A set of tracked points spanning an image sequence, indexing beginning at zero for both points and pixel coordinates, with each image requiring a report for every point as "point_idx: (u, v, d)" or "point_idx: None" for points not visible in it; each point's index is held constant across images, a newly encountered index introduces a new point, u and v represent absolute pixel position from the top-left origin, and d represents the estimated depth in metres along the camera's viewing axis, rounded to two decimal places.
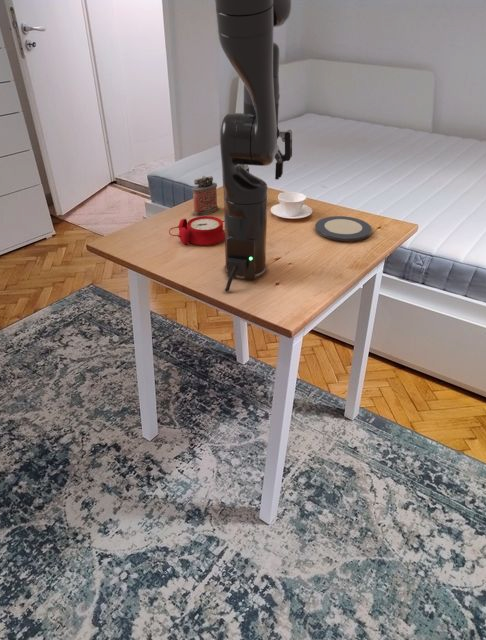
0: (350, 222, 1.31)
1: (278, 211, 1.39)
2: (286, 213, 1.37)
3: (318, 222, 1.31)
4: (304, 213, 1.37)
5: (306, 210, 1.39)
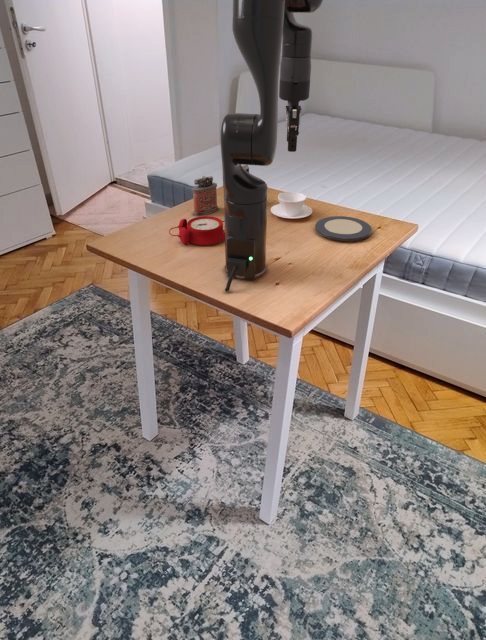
0: (350, 222, 1.31)
1: (278, 211, 1.39)
2: (286, 213, 1.37)
3: (318, 222, 1.31)
4: (304, 213, 1.37)
5: (306, 210, 1.39)
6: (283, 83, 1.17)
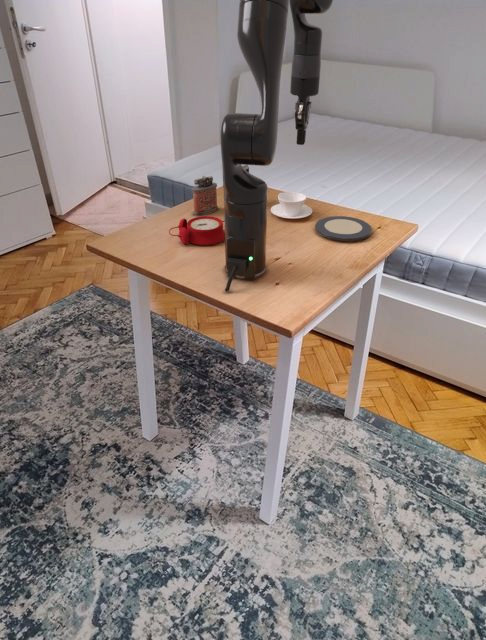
0: (350, 222, 1.31)
1: (278, 211, 1.39)
2: (286, 213, 1.37)
3: (318, 222, 1.31)
4: (304, 213, 1.37)
5: (306, 210, 1.39)
6: (293, 79, 1.25)
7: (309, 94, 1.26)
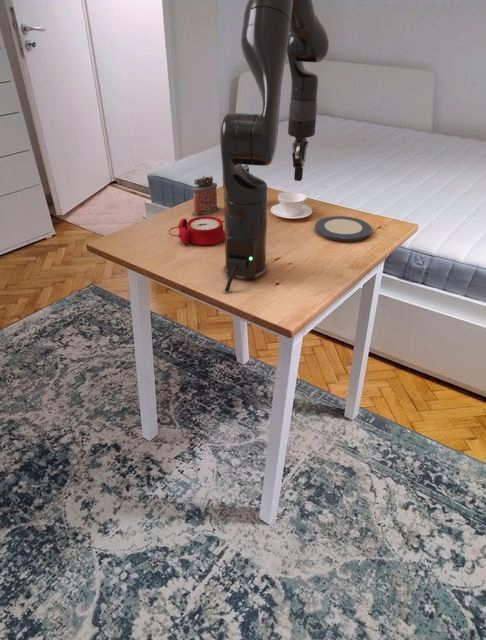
0: (350, 222, 1.31)
1: (278, 211, 1.39)
2: (286, 213, 1.37)
3: (318, 222, 1.31)
4: (304, 213, 1.37)
5: (306, 210, 1.39)
6: (290, 121, 1.31)
7: (306, 136, 1.32)
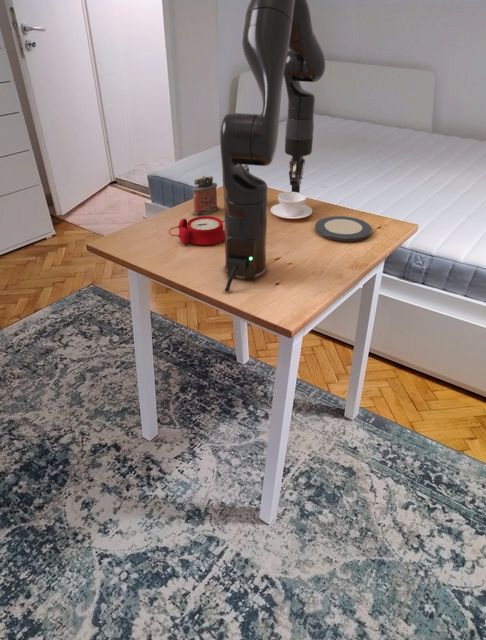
0: (350, 222, 1.31)
1: (278, 211, 1.39)
2: (286, 213, 1.37)
3: (318, 222, 1.31)
4: (304, 213, 1.37)
5: (306, 210, 1.39)
6: (287, 140, 1.31)
7: (303, 154, 1.31)
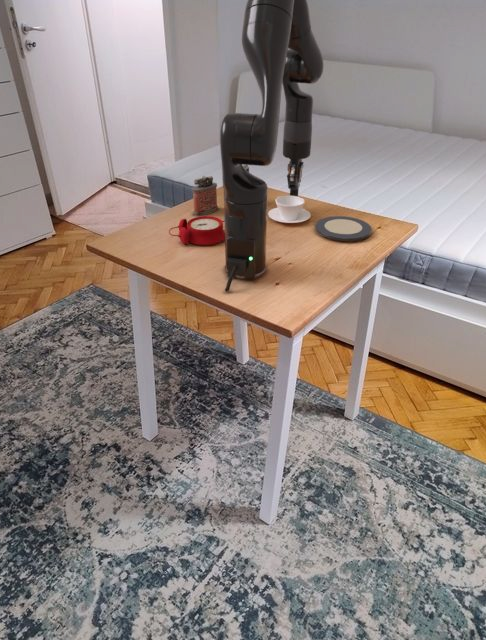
0: (350, 222, 1.31)
1: (276, 215, 1.36)
2: (284, 217, 1.34)
3: (318, 222, 1.31)
4: (302, 217, 1.35)
5: (304, 214, 1.36)
6: (285, 143, 1.28)
7: (301, 157, 1.28)
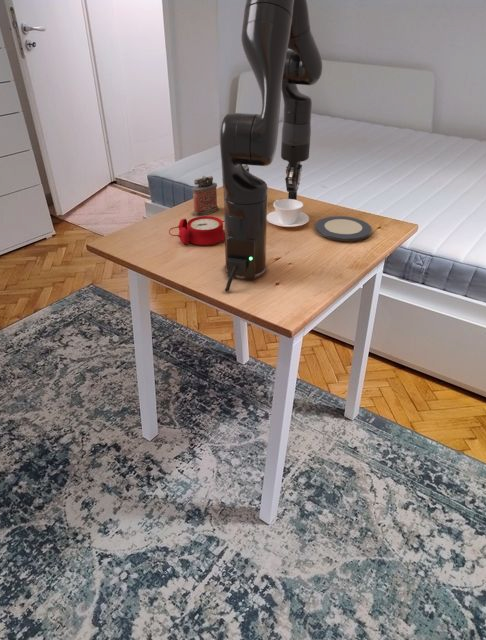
0: (350, 222, 1.31)
1: (274, 218, 1.34)
2: (282, 221, 1.32)
3: (318, 222, 1.31)
4: (301, 221, 1.33)
5: (303, 218, 1.34)
6: (283, 145, 1.26)
7: (299, 160, 1.26)
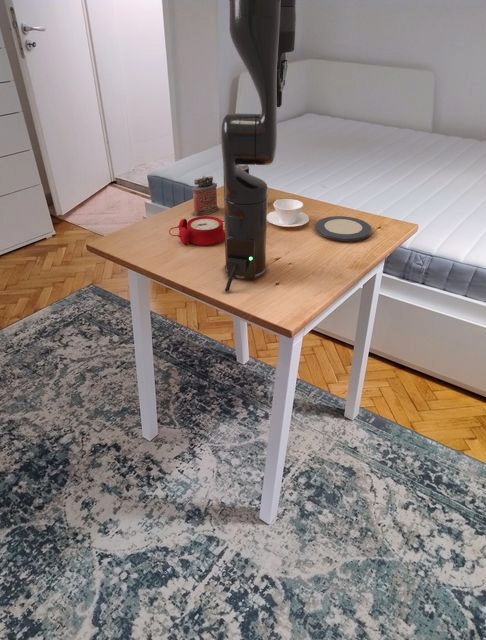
0: (350, 222, 1.31)
1: (274, 218, 1.34)
2: (282, 221, 1.32)
3: (318, 222, 1.31)
4: (301, 221, 1.33)
5: (303, 218, 1.34)
6: None
7: (284, 50, 1.18)
